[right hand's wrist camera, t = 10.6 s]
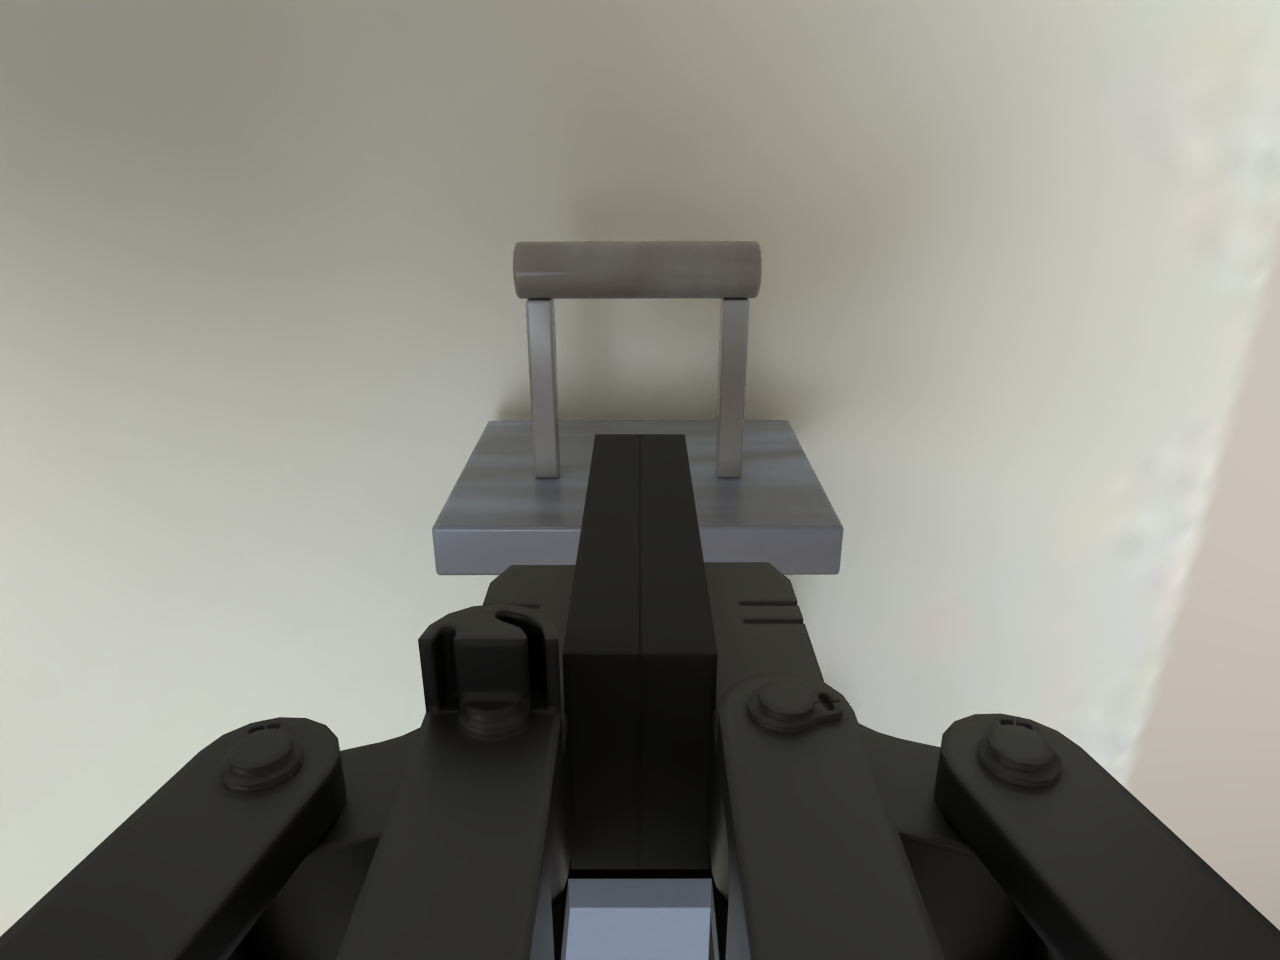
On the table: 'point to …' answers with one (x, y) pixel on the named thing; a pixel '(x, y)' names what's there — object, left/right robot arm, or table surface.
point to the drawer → (562, 450)
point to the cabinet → (639, 919)
